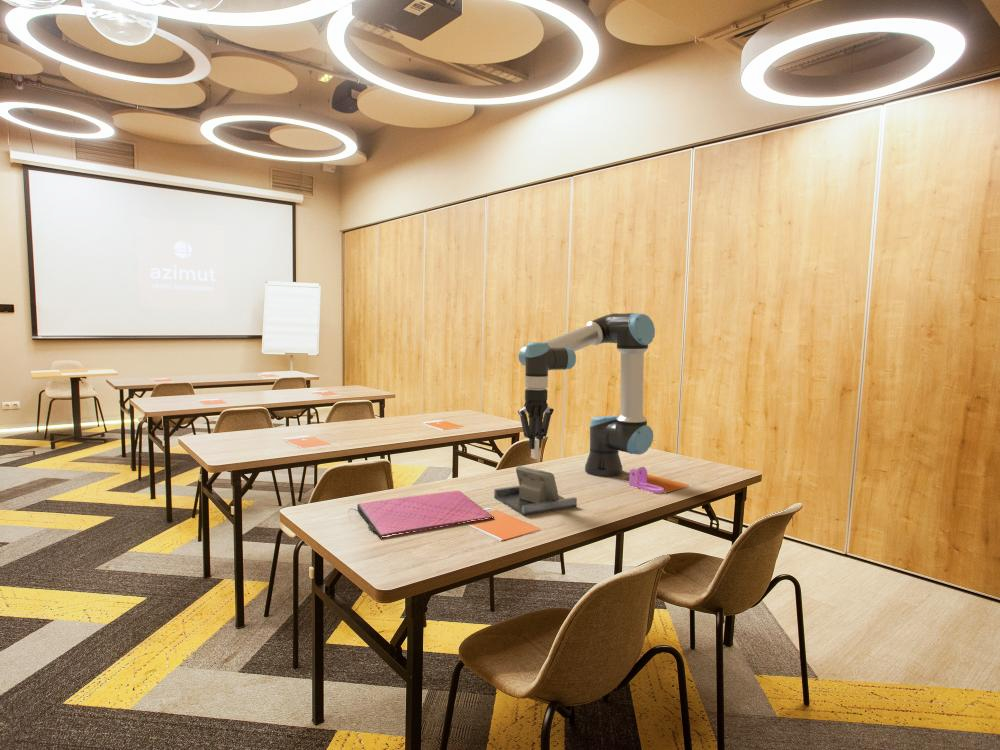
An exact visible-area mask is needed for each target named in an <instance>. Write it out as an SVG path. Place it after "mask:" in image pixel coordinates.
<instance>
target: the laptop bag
mask: <svg viewBox="0 0 1000 750" xmlns="http://www.w3.org/2000/svg"><path fill="white" fill-rule="evenodd" d="M356 507H357V508H356V509H355V508H353V510H354V511H357V512H358V513H359V512H360V513H359V514H360V515H361V517H363V518H365V519H364V520H365V521H366V523H368V524H367V525H368V529H369V528H370V529H371V530H372V531H374V533H375V534H376V533H377V534H376V535H377V536H378V538H379V537H380V538H381V537H382V536H387V535H392V534H399V533H406V532H413V531H419V532H421V531H420V530H424V531H426V530H425V529H429V530H431V529H430V528H435V527H440V526H446V525H452V524H458V523H463V522H467V521H471V520H478V519H485V518H492V517H493V518H495V516H493V515H492V514H491V513H489V512H488V511H486V510H485V509H484V508H483V507H482V506H480V505H478V504H477V503H476V502H474V501H473V500H472V499H470V498H469V497H468V496H467V495H465V494H464V493H463V492H462V491H460V490H451V491H443V492H435V493H427V494H419V495H412V496H402V497H396V498H390V499H389V498H387V499H382V500H375V501H374V500H373V501H367V502H362V503H357V506H356ZM350 510H351V508H350V509H349V510H348V516H349V513H350ZM458 525H459V524H458ZM452 526H453V525H452ZM446 527H447V526H446ZM440 528H441V527H440ZM370 529H369V530H370ZM435 529H436V528H435ZM371 530H370V531H371ZM372 531H371V532H372ZM413 533H414V532H413ZM380 538H379V539H380Z"/></svg>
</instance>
